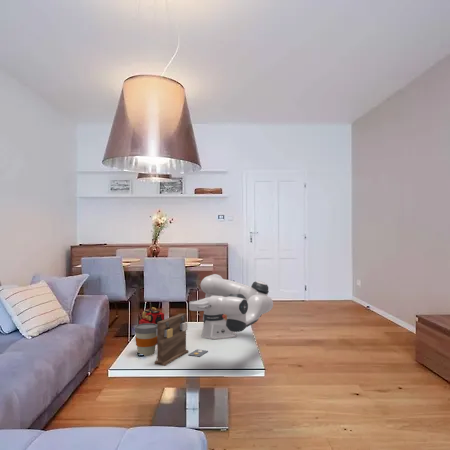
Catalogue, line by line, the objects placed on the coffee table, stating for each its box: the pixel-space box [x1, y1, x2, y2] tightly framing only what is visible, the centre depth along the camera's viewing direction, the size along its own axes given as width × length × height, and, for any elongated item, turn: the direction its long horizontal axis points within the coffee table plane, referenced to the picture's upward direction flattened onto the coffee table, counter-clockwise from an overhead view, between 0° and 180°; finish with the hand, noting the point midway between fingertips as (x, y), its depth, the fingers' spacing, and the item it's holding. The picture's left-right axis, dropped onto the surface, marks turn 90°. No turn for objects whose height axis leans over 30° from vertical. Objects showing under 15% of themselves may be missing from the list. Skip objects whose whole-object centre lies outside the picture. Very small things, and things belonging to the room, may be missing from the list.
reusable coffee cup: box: [134, 323, 157, 357], centre depth 199 cm, size 13×12×15 cm
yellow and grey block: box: [156, 328, 173, 338], centre depth 185 cm, size 7×4×4 cm, turn 66°
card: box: [187, 348, 209, 358], centre depth 198 cm, size 7×10×1 cm
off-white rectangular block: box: [180, 321, 188, 331], centre depth 198 cm, size 7×4×4 cm, turn 66°
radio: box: [138, 306, 165, 325], centre depth 221 cm, size 16×10×20 cm, turn 41°
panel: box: [154, 312, 189, 367], centre depth 191 cm, size 6×23×21 cm, turn 156°
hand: (190, 302), depth 184 cm, fingers closed
